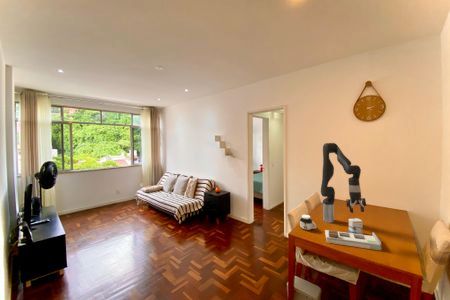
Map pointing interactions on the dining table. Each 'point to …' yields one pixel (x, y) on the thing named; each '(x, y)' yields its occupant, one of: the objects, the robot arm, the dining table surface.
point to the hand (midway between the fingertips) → (357, 212)
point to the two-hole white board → (355, 240)
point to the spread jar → (307, 223)
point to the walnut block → (333, 234)
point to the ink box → (355, 226)
